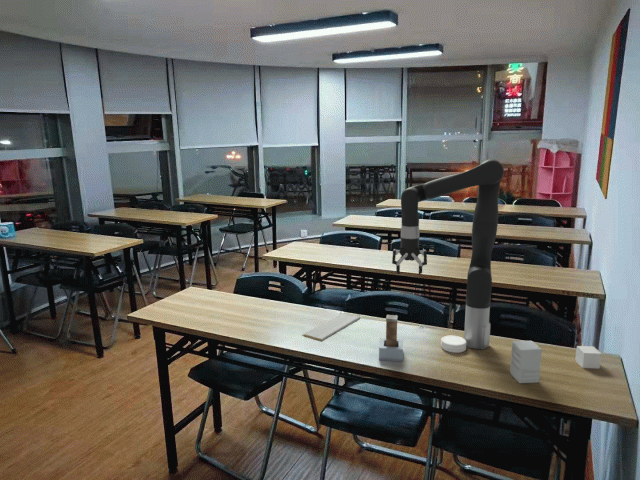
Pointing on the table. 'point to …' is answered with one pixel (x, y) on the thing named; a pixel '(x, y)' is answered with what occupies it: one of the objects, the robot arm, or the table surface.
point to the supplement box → (525, 361)
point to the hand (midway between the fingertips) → (409, 274)
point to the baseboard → (331, 326)
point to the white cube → (588, 357)
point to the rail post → (391, 330)
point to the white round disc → (453, 344)
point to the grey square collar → (391, 351)
